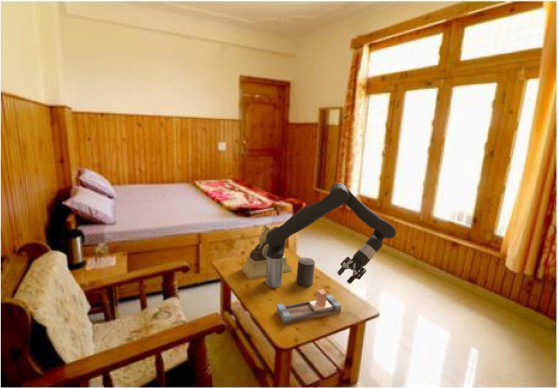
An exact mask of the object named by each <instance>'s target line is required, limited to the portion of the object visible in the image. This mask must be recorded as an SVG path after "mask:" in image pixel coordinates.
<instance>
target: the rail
mask: <svg viewBox="0 0 558 388" xmlns="http://www.w3.org/2000/svg"><path fill="white" fill-rule="evenodd" d="M315 300H316V299H313V300H308V301H302V302H297V303H292V304H287V305H284V303H277V304H276V313H277V316H278V317H279V319H280V320H281V321H282V324H283V325H289V324H294V323H299V322H303V321H307V320H313V319H317V318H321V317H326V316H330V315H335V314H339V313H341V312H342V305H341V303H340V302H339V301H338V300H337V299H336V298H335V297H334V296H333V295H332V294H331V293H330V294H327V296H326V300H327V301H328V302H329V303H330V304H331V305H332V308H329V309H325V310H320V311H314V309H313V308H312V307H311V306H310V305H309V302H310V301H315Z"/></svg>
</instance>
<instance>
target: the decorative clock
mask: <svg viewBox="0 0 558 388" xmlns="http://www.w3.org/2000/svg"><path fill="white" fill-rule="evenodd" d="M271 229H272V228H271V227H269V225H268V224H267V223H264V224H263V229H262V230H261V232H260V233H261V234H260V235H261V236H258V244H257V245H256V246H255V247H254V248H253V249H252V250H251V251H250V254H249V255H247V256H246V260H245V263H244V264H243V265H242V266H241V271H242V272H243V273H244V275H245V276H246V277H247V278H248V279H249V280H254V279H258V278H263V277H266V262H267V250H268V247H269V245H268V244H267V242H266V235H267V233H268V232H269V231H270V230H271ZM292 269H293V268H292V267H291V266H290V265H289V264H288V262H287V256H285V255H284V254H283V269H282V274H283V273H287V272H292Z"/></svg>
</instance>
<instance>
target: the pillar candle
mask: <svg viewBox="0 0 558 388" xmlns="http://www.w3.org/2000/svg"><path fill="white" fill-rule="evenodd" d="M315 265H316V261H315V259H313V258H310V257H306V256H305V257H300V258H298V261H297V270H296V279H295V281H296V284H297V285H298V286H300V287H304V288H305V287H306V288H307V287H308V288H309V287H312V285H313V284H314V275H315Z"/></svg>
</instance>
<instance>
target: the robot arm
mask: <svg viewBox="0 0 558 388" xmlns="http://www.w3.org/2000/svg"><path fill="white" fill-rule="evenodd" d="M344 205H345V206H346V207H348V208H349V209H350V210H351V211H352V212H353V213H354V214H355V215H356V217H357V218H358V219H359V220H361V222H362V223H363V224H365V225H366V226H368V227H369V228H371V229H373V232H372V234H371V236H370V237H369V238H368V240H366V242H365V243H364V244H363V245H361V246H360V247H359V248H358V250H357V251H356V252H355V253H354V254H353V255H352V258H350V257H349V256H347V257H346V258H345V259H343V260H342V261H341V262H340V266H341V267H340V269H338V271H337V272H336V273H337V274H338V276H342V275H343V273H344V272H345V270H350V271H352V275H350V276H349V278H348V279H347V280H346V283H348V284H349V285H350V284H352V283H353V282H354V281H355V280H358V281H359V280H361V279H362V277H363V276H364V275H365V274H366V272H367V270H366V268H365V267H366V266H367V265H368V263H369V262H371V260H372V259H373V258H374V257H375V255H376V253H378V251H379V250H380V249H381V248H382V246H383V240H384V239H389V240H390V239H393V238H394V237H395V236H396V233H397V231H396V228H395V226H393V224H391V223H389V222H388V221H386V220H384V219H383V218H381V217H380V216H379V215H378V214H376V213H375V212H374V211H373V210H372V209H370V208H369V207H368V206H366V205H365V204H364V203H363V202H361V201H360V200H359V199H358V198H357V197H356V196H355V195H354V194H353V193H352V191H351V190H350V189H349V188H348V187H347V185H345V184H344V183H341V182H337V183H334V184H333V185H331V187H330V188H329V194H327V195H326V196H325V197H323V198H322V199H320V200H319V201H317V202H314V203H311V204H307V205H306V206H303V207H302V208H301V209H299V210H298V211H296V213H294V214H292V216H291V217H290V218H288V219H287V220H286V221H285V222H284V223H283V224H281V225H280V226H274V227H272V228H271V230H270V231H269V232H268V233H267V235H266V242H267V244H268V245H269V247H268V250H267V262H266V276H265V282H264V283H265V285H266V287H268V288H271V289H272V288H275V289H276V288H279V287H280V286H282V282H283V281H282V280H283V273H282V269H283V255H284V252H285V249H286V240H287V239H288V238H290V237H291V236H292V235H295V234H297V233H299V232H300V231H301V230H303V229H305V228H307V227H309V226H310V225H312V224H314V223H315V222H316V221H318V220H319V219H321V218H322V217H324V216H325V215H326V214H328V213H330V212H331V211H333V210H336V209H337V208H339V207H341V206H344Z"/></svg>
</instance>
